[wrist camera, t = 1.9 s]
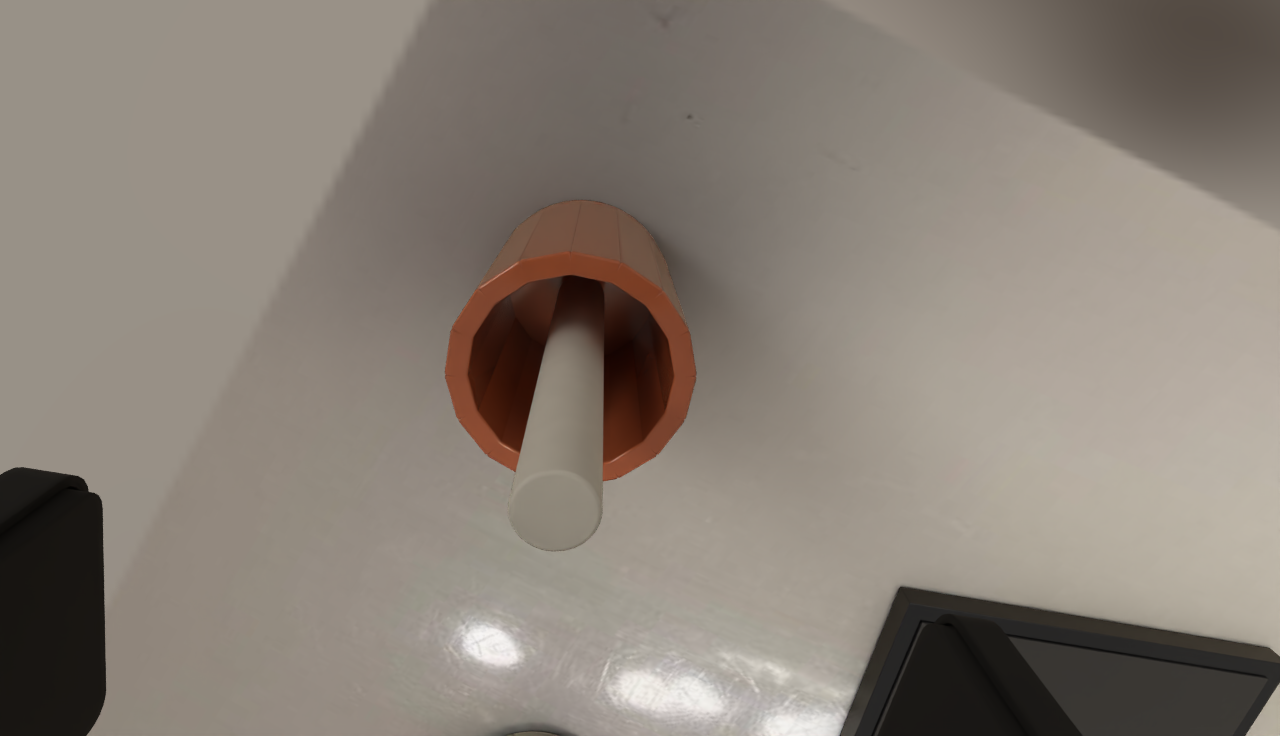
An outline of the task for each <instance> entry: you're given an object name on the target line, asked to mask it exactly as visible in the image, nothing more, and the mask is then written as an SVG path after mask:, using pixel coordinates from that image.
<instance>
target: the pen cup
mask: <svg viewBox="0 0 1280 736" xmlns="http://www.w3.org/2000/svg"><path fill="white" fill-rule="evenodd" d="M572 276H579V277H584V278H589V279H593V280H596V281H597V282H598V283H599V284H600V285H601V287H602V289H603V291H604V396H603V481H608V480H613V479H617V478H618V477H619V478H620V477H622V476H623V475H625V474H627V473H629V472H630V471H632V470H634V469H635V468H637V467H639V466H641V465H642V464H644V463H646V462H647V461H649V460H651V459H652V458H654V457H656V455H658V454H659V453H660V452H661V451H662V449H663V448H664V447H665V445H666V444H667V443H668V442H669V440H670V439H671V438H672V436H673V435H674V434H675V433H676V431H677V430H678V429H679V427H680V426H681V425H682V424H683V422H684V419H685V418H686V416H687V412H688V408H689V405H690V401H691V397H692V393H693V390H694V386H695V382H696V374H697V373H696V366H695V360H694V354H693V347H692V341H691V335H690V331H689V328H688V325H687V322H686V319H685V316H684V313H683V311H682V308H681V305H680V302H679V299H678V296H677V293H676V290H675V287H674V284H673V281H672V278H671V275H670V273H669V270H668V267H667V264H666V261H665V258H664V256H663V255H662V253H661V251H660V249H659V247H658V246H657V244H656V242H655V240H654V239H653V237H652V236H651V235H650V233H649V232H648V231H647V230H646V229H645V228H644V226H643V225H642V224H641V223H640V222H638V221H637V220H636V219H635V218H633V217H632V216H631V215H629V214H627V213H626V212H624V211H623V210H621V209H618V208H616V207H614V206H612V205H609V204H605V203H602V202H597V201H590V200H572V201H564V202H560V203H556V204H553V205H550V206H548V207H545V208H543V209H541V210H539V211H538V212H536V213H534V214H533V215H531V216H530V217H529V218H527V219H526V220H525V221H524V222H523V223H522V224H520V225H519V226H518V227H517V228H516V229H515V230H514V232H513V233H512V235H511V236H510V238H509V239H508V241H507V242H506V244H505V245H504V247H503V249H502V250H501V252H500V253H499V255H498V256H497V258H496V259H495V261H494V262H493V264H492V265H491V267H490V268H489V270H488V272H487V273H486V275H485V276H484V278H483V279H482V281H481V282H480V284H479V285H478V287H477V288H476V290H475V292H474V293H473V295H472V296H471V298H470V299H469V301H468V302H467V304H466V306H465V307H464V309H463V310H462V312H461V313H460V315H459V316H458V318H457V320H456V321H455V323H454V324H453V326H452V330H451V331H450V338H449V345H448V353H447V360H446V367H445V374H446V375H445V379H446V382H447V386H448V389H449V392H450V396H451V399H452V403H453V406H454V410H455V413H456V417H457V418H458V420H459V422H460V423H461V424H462V426H463V427H464V428H465V429H466V431H467V432H468V433H469V434H470V436H471V437H472V438H473V439H474V440H475V442H476V443H477V444H478V445H479V447H480V448H481V449H482V450H483V452H484V453H485V454H487V455H488V456H489V457H490V458H492V459H494V460H495V461H497V462H499V463H500V464H502V465H504V466H506V467H507V468H509V469H511V470H513V471H514V472H516V468H517V464H518V460H519V456H520V452H521V447H522V443H523V439H524V435H525V430H526V426H527V422H528V418H529V414H530V409H531V405H532V401H533V397H534V392H535V388H536V384H537V380H538V376H539V371H540V367H541V363H542V359H543V355H544V350H545V346H546V342H547V338H548V333H549V329H550V325H551V321H552V317H553V312H554V308H555V304H556V300H557V296H558V292H559V289H560V287H561V285H562V284H563V282H564V281H566V280H567V279H568V278H570V277H572Z"/></svg>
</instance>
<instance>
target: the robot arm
mask: <svg viewBox="0 0 1280 736" xmlns="http://www.w3.org/2000/svg"><path fill="white" fill-rule="evenodd" d="M103 560H104V559H103V508H102V501H101V499H100V497H99V495H97V494H95V493H91V492H89V491H88V486H87V484H86V483H85V481H84V479H82V478H80V477H79V476H74V475H68V474H61V473H55V472H49V471H42V470H36V469H30V468H24V467H21V468H13V469H11V470H8V471H6V472H4V473H3V474H1V475H0V736H86V735H87V734H88V733H89V731H90V730H91V729H92V727H93V726H94V724H95V722H96V720H97V719H98V717H99V715H100V712H101V710H102V707H103V704H104V700H105V695H106V662H105V610H104V561H103ZM877 736H1083V735H1082V734H1081V733H1080V732H1079V730H1078V729H1077V728H1076V726H1075V725H1074V724H1073V722H1072V721H1071V720H1070V718H1069V717H1068V716H1067V714H1066V713H1065V712H1064V710H1063V709H1062V708H1061V706H1060V705H1059V704H1058V702H1057V701H1056V700H1055V698H1054V697H1053V696H1052V695H1051V693H1050V692H1049V691H1048V689H1047V688H1046V687H1045V685H1044V684H1043V683H1042V681H1041V680H1040V679H1039V677H1038V676H1037V675H1036V673H1035V672H1034V671H1033V669H1032V668H1031V667H1030V665H1029V664H1028V663H1027V661H1026V660H1025V659H1024V658H1023V656H1022V655H1021V654H1020V652H1019V651H1018V650H1017V648H1016V647H1015V646H1014V644H1013V643H1012V642H1011V640H1010V639H1009V638H1008V636H1007V635H1006V634H1005V632H1004V631H1003V630H1002V628H1001V627H1000V626H998V625H997V624H996V623H995V622H993V621H990V620H986V619H979V618H973V617H967V616H960V615H954V614H944V615H941V616H940V617H939V618H938V619H937V620H936V622H935V623H934V624H927V625H926V626H925V627H924V628H923V629H922V631H921V633H920V635H919V637H918V640H917V642H916V644H915V647H914V649H913V652H912V654H911V656H910V659H909V661H908V664H907V666H906V668H905V671H904V673H903V676H902V678H901V680H900V683H899V685H898V687H897V690H896V692H895V695H894V697H893V699H892V702H891V704H890V707H889V709H888V711H887V714H886V716H885V718H884V721H883V723H882V726H881V728H880V730H879V733H878V735H877Z"/></svg>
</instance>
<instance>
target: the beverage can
mask: <svg viewBox="0 0 1280 736" xmlns="http://www.w3.org/2000/svg"><path fill="white" fill-rule="evenodd" d="M507 736H558V735H555V734H551V733H545V732H520V733H515V734H511V735H507Z"/></svg>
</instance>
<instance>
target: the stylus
mask: <svg viewBox="0 0 1280 736" xmlns="http://www.w3.org/2000/svg"><path fill="white" fill-rule="evenodd" d="M603 396H604V291H603V289H602V287H601V285H600V284H599V283H598V282H597V281H596V280H593V279H589V278H584V277H579V276H572V277H570V278H568V279H567V280H566V281H564V282H563V284H562V285H561V287H560V289H559V292H558V296H557V300H556V304H555V308H554V312H553V317H552V321H551V325H550V329H549V333H548V338H547V342H546V346H545V350H544V355H543V359H542V363H541V367H540V371H539V376H538V380H537V384H536V388H535V392H534V397H533V401H532V405H531V409H530V414H529V418H528V422H527V426H526V430H525V435H524V439H523V443H522V447H521V452H520V456H519V460H518V464H517V468H516V473H515V477H514V481H513V485H512V489H511V494H510V498H509V502H508V515H509V520H510V522H511V525H512V527H513V528H514V530H515V531H516V533H517V534H518V535H519V536H520V537H521V538H522V539H523V540H524V541H525V542H527V543H528V544H530V545H532V546H534V547H536V548H539V549H542V550H546V551H565V550H569V549H572V548H575V547H577V546H579V545H581V544H583V543H584V542H586V541H587V540H588V539H589V538H590V537H591V536H592V535H593V534H594V533H595V531H596V530H597V528H598V526H599V524H600V521H601V518H602V496H603Z"/></svg>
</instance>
